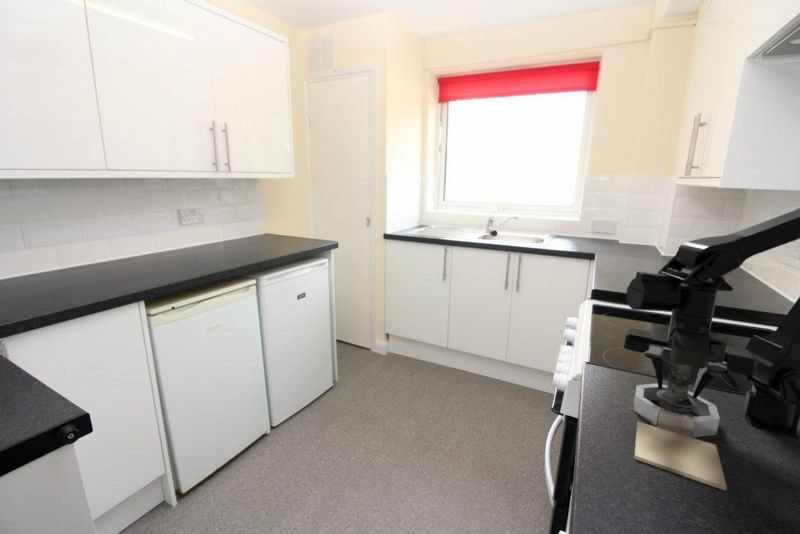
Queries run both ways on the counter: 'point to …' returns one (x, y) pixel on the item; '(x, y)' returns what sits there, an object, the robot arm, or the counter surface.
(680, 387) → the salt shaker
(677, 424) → the white octagonal ring
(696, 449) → the beige pad
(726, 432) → the counter surface
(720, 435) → the counter surface
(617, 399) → the counter surface
